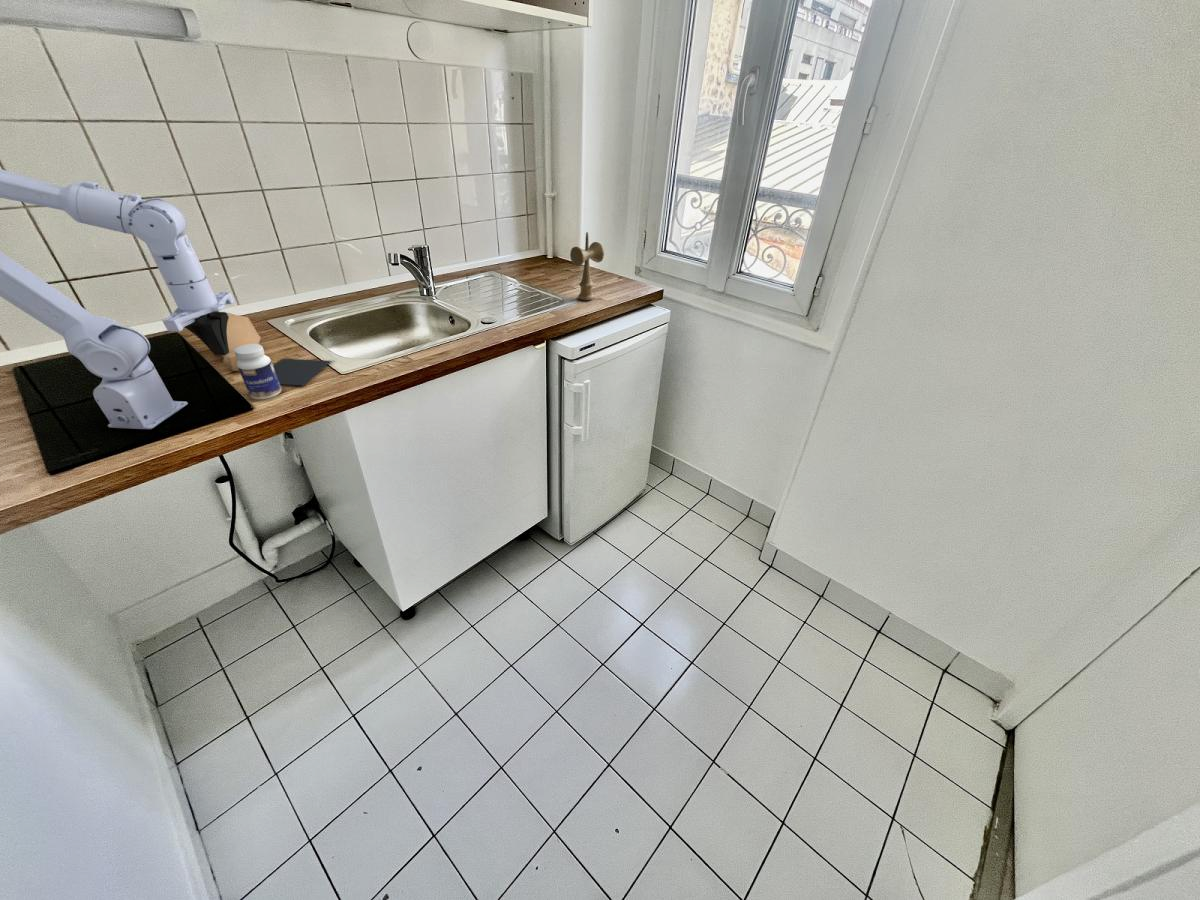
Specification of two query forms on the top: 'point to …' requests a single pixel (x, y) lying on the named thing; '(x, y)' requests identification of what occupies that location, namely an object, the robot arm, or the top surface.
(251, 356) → the pill bottle
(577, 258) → the kendama
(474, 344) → the top surface
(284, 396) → the top surface
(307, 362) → the mat
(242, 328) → the squash
